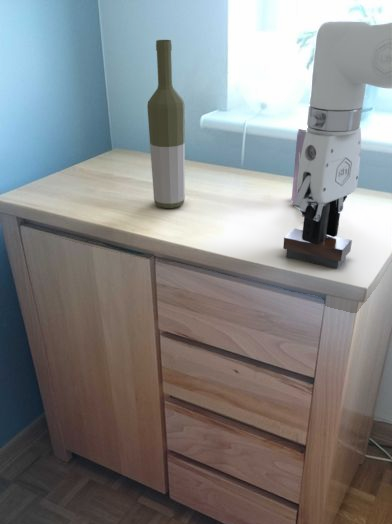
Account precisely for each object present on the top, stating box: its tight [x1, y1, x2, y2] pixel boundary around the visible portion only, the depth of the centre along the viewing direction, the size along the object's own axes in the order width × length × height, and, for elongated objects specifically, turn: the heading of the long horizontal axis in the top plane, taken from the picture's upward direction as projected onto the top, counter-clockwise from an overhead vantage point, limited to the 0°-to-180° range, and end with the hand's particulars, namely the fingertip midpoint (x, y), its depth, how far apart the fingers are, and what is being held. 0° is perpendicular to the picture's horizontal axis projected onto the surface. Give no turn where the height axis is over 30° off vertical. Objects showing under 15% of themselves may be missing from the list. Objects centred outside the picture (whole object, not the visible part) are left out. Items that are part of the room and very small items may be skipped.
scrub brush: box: [282, 203, 353, 269], centre depth 91 cm, size 10×5×10 cm, turn 58°
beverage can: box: [291, 123, 314, 207], centre depth 112 cm, size 6×6×15 cm
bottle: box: [147, 39, 186, 209], centre depth 108 cm, size 7×7×30 cm
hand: (319, 236), depth 91 cm, fingers open, 3 cm apart
